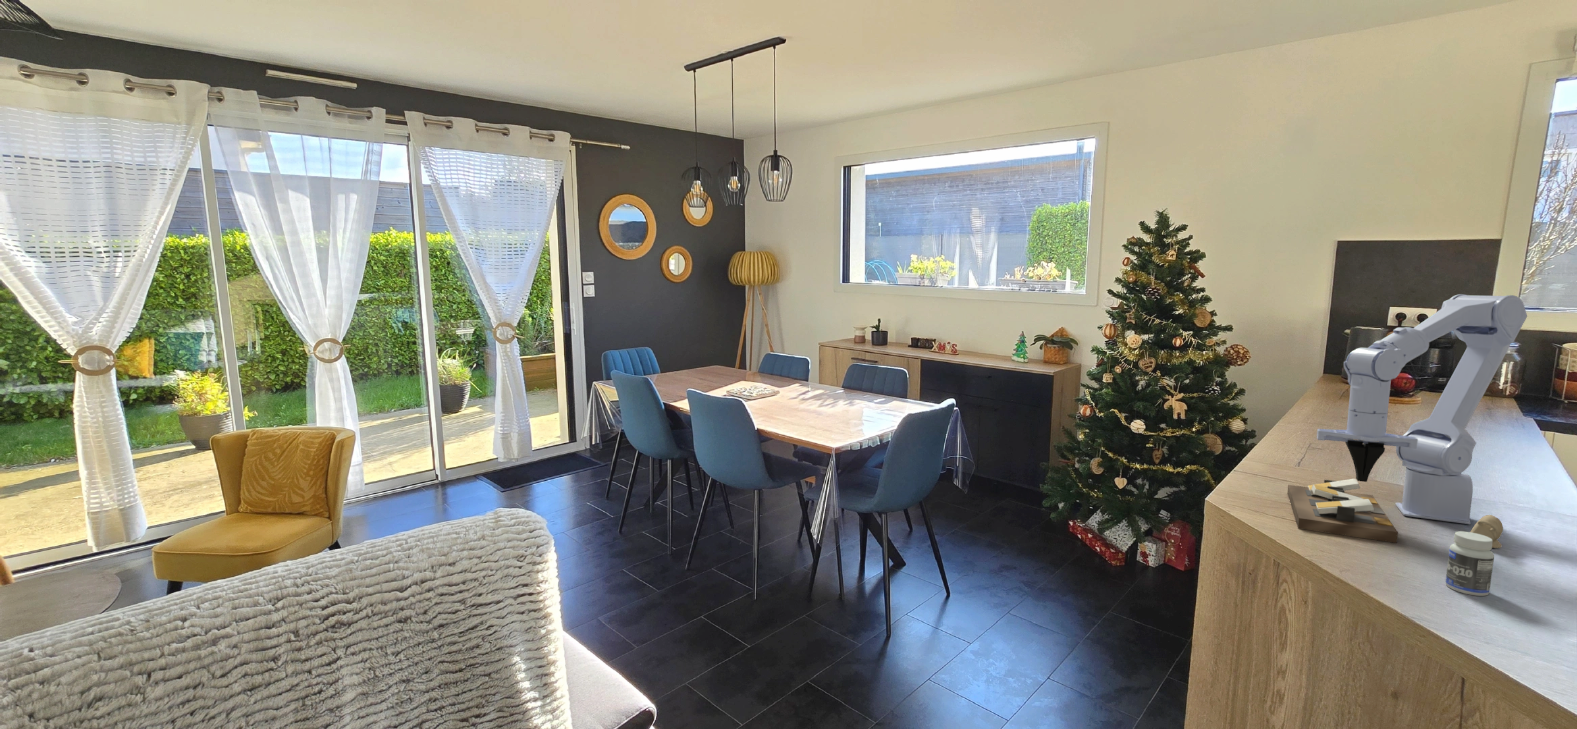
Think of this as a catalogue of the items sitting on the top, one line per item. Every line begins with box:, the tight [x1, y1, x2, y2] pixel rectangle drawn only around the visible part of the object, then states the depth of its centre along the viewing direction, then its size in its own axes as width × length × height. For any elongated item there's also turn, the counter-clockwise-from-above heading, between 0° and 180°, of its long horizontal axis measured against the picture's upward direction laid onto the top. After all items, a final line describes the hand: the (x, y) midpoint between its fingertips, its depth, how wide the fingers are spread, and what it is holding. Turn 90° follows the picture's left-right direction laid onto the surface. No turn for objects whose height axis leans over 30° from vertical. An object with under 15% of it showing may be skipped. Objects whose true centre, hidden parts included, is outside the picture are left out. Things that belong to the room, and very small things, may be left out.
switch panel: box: [1286, 479, 1399, 544], centre depth 133 cm, size 14×24×5 cm, turn 148°
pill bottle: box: [1445, 530, 1495, 597], centre depth 101 cm, size 5×5×8 cm
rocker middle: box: [1312, 483, 1363, 500], centre depth 132 cm, size 8×4×1 cm, turn 58°
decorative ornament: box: [1469, 514, 1504, 549], centre depth 118 cm, size 4×8×5 cm, turn 126°
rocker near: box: [1316, 499, 1374, 514], centre depth 127 cm, size 8×4×1 cm, turn 57°
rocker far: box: [1307, 478, 1361, 495], centre depth 138 cm, size 8×4×1 cm, turn 58°
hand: (1361, 480), depth 130 cm, fingers closed
